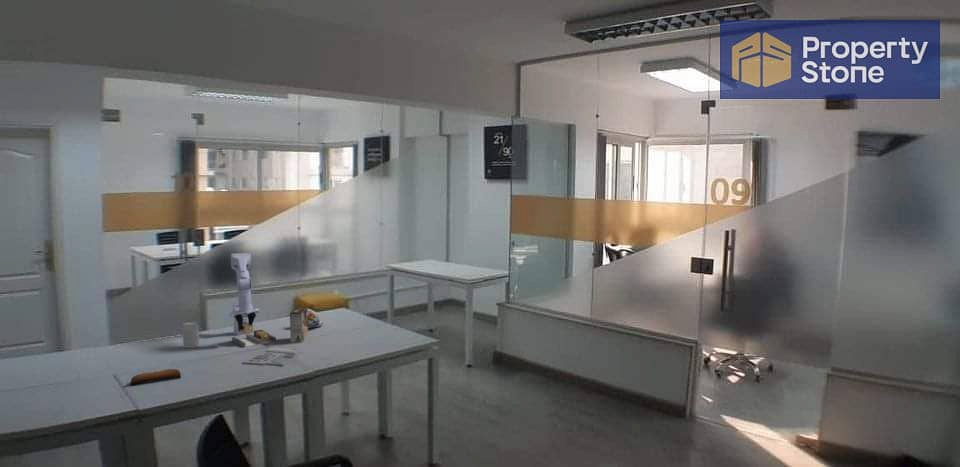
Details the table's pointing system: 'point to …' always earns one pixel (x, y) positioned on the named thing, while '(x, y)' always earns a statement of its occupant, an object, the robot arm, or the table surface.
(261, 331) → the cell
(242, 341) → the battery board
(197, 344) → the skincare box
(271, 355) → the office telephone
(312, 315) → the lucky cat figurine
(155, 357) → the table surface
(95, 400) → the table surface
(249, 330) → the copper cell
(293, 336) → the coffee box
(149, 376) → the sunglasses case
